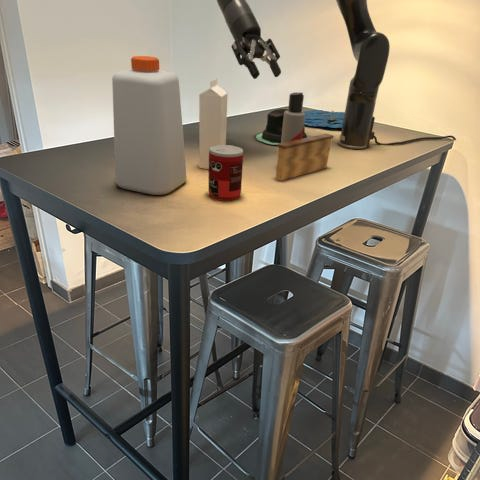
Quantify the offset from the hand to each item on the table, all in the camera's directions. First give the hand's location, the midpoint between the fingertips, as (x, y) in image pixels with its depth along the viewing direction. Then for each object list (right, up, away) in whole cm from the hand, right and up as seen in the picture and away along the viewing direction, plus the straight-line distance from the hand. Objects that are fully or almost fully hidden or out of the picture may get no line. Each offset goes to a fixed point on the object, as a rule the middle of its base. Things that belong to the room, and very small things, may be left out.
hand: (268, 76), depth 126 cm
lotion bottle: (+6, -23, +7) cm, 25 cm away
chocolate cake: (+8, -5, +33) cm, 34 cm away
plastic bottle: (-30, -33, -10) cm, 46 cm away
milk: (-16, -23, +5) cm, 29 cm away
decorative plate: (+27, +13, +59) cm, 66 cm away
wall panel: (+10, -25, +4) cm, 28 cm away
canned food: (-12, -37, -13) cm, 41 cm away
